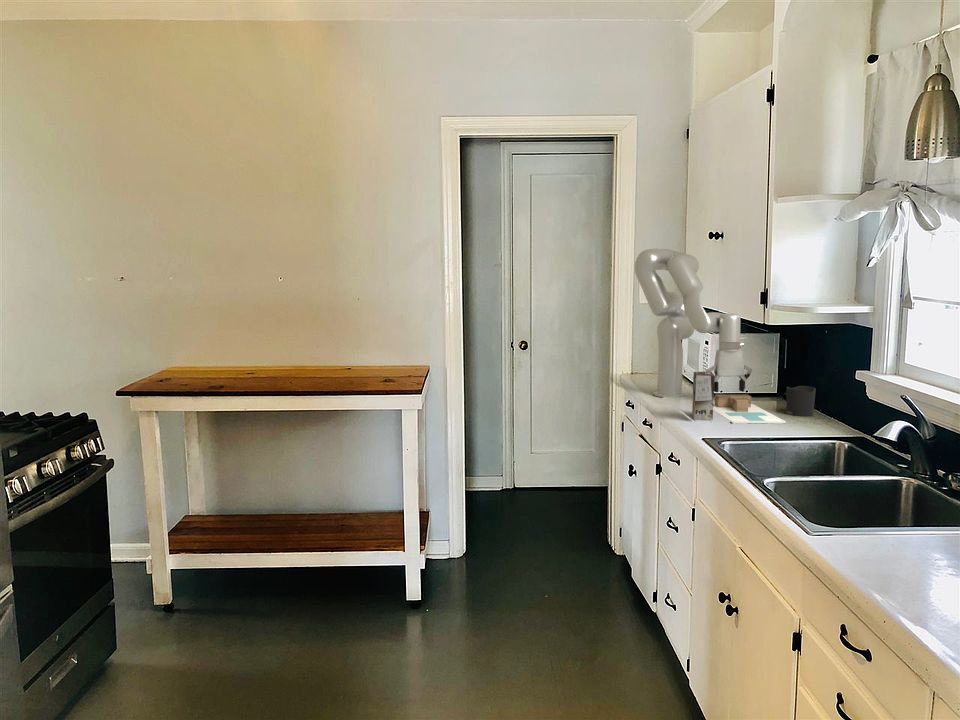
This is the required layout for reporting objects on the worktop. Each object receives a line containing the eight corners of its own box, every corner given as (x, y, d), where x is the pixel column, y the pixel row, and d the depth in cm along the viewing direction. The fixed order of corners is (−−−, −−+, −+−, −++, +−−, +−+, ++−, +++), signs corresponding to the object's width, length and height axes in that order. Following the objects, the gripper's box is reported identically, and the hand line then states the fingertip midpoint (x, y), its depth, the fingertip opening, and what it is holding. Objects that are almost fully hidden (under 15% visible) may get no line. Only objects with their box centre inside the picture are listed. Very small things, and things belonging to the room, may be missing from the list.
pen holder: (785, 411, 268) (786, 384, 267) (813, 414, 264) (815, 386, 263) (785, 417, 259) (786, 389, 258) (814, 419, 256) (816, 390, 254)
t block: (714, 405, 277) (715, 394, 276) (746, 405, 277) (747, 394, 276) (725, 412, 265) (726, 401, 264) (759, 411, 265) (759, 400, 265)
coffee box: (713, 422, 252) (715, 375, 249) (693, 421, 253) (695, 375, 251) (710, 416, 261) (712, 371, 258) (691, 416, 262) (693, 370, 260)
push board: (701, 403, 283) (701, 401, 283) (748, 403, 284) (748, 401, 284) (732, 423, 250) (732, 421, 250) (785, 423, 250) (785, 421, 250)
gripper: (748, 344, 282) (747, 389, 285) (703, 346, 282) (702, 390, 284) (756, 346, 275) (755, 392, 277) (709, 348, 275) (709, 393, 277)
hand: (728, 391), depth 281 cm, fingers open, 9 cm apart
